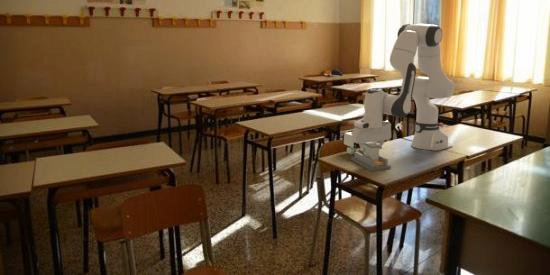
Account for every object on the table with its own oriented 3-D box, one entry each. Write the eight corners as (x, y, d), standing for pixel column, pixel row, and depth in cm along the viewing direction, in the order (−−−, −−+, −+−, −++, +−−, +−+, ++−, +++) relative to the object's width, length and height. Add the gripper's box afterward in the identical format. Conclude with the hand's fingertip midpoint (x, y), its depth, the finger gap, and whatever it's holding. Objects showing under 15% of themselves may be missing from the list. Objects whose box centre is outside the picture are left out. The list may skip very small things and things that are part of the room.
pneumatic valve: (355, 157, 215) (356, 134, 212) (341, 151, 225) (341, 130, 222) (363, 155, 218) (364, 133, 215) (348, 150, 228) (349, 128, 225)
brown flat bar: (367, 156, 211) (367, 154, 211) (383, 164, 198) (383, 162, 198) (358, 157, 209) (358, 155, 209) (373, 166, 196) (374, 164, 196)
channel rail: (369, 157, 214) (370, 149, 213) (390, 168, 198) (391, 159, 196) (351, 160, 210) (351, 151, 209) (371, 171, 194) (371, 162, 193)
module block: (370, 156, 207) (371, 141, 205) (378, 160, 201) (379, 144, 199) (363, 157, 206) (364, 142, 204) (371, 161, 199) (372, 145, 197)
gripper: (387, 119, 205) (385, 146, 209) (351, 122, 198) (349, 150, 202) (394, 121, 199) (393, 149, 203) (358, 125, 192) (356, 154, 196)
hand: (371, 150), depth 202 cm, fingers open, 8 cm apart
